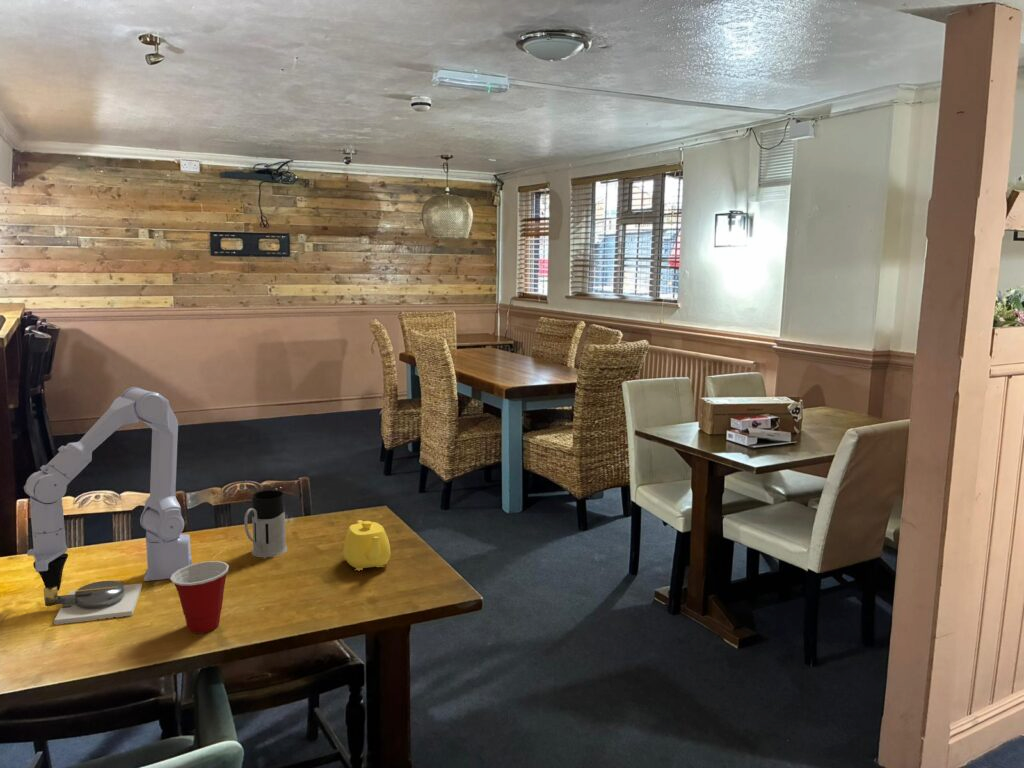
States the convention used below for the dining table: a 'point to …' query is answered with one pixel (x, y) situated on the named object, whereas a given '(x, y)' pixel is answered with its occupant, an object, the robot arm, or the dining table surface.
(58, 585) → the robot arm
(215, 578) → the plastic cup
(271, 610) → the dining table surface
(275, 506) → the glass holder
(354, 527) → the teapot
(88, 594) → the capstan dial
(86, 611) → the white square board
